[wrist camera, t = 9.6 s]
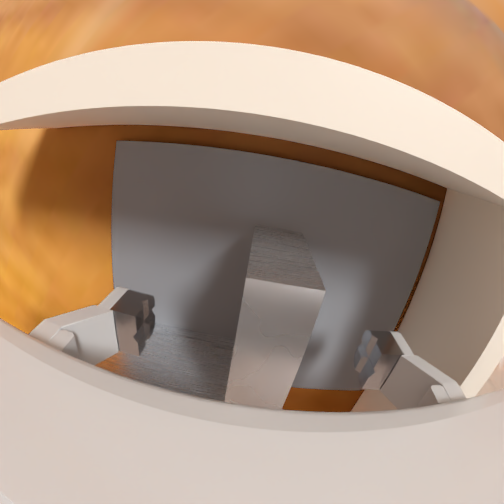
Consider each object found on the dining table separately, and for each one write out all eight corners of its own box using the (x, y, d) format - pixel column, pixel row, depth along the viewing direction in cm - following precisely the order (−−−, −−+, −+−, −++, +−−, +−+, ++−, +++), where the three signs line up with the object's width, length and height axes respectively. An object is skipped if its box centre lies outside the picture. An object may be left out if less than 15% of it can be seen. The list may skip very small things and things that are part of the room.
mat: (359, 387, 15) (360, 390, 14) (123, 349, 15) (122, 352, 14) (436, 200, 10) (440, 201, 10) (119, 140, 10) (116, 140, 10)
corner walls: (365, 422, 16) (381, 485, 11) (81, 371, 16) (45, 425, 10) (477, 172, 10) (562, 196, 4) (60, 101, 10) (-27, 96, 4)
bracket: (266, 371, 14) (263, 447, 9) (129, 342, 14) (91, 403, 9) (302, 233, 11) (325, 290, 7) (124, 204, 11) (51, 238, 6)
